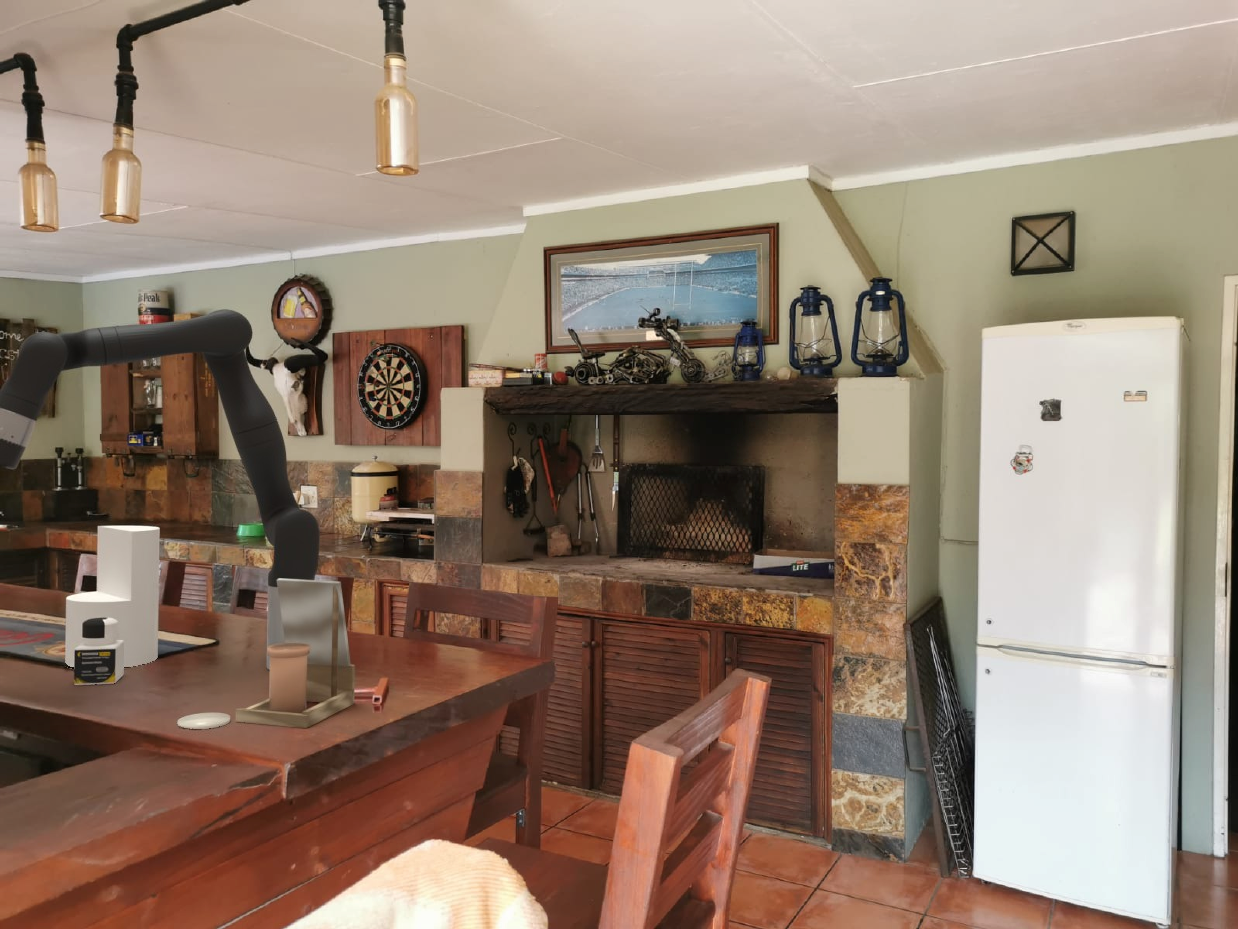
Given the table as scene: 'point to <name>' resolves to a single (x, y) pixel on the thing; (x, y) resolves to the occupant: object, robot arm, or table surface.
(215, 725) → the saucer
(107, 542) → the rounded stepped block
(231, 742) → the table surface
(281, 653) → the clay pot
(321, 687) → the cold frame
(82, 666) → the medicine bottle
